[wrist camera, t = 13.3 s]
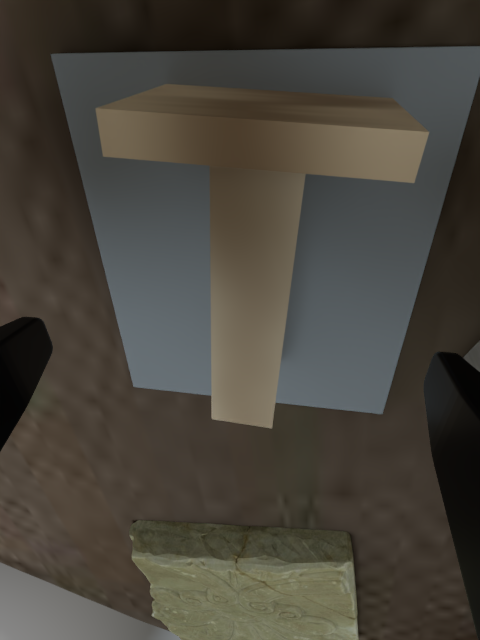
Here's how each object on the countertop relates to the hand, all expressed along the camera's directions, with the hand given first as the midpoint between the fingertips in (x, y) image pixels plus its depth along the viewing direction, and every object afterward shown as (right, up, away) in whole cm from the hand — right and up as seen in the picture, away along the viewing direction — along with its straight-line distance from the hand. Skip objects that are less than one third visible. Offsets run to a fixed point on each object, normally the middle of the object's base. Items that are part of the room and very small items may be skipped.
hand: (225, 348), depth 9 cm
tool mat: (+1, +3, +8) cm, 8 cm away
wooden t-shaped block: (+1, +3, +7) cm, 7 cm away
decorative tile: (+1, -22, +27) cm, 35 cm away
